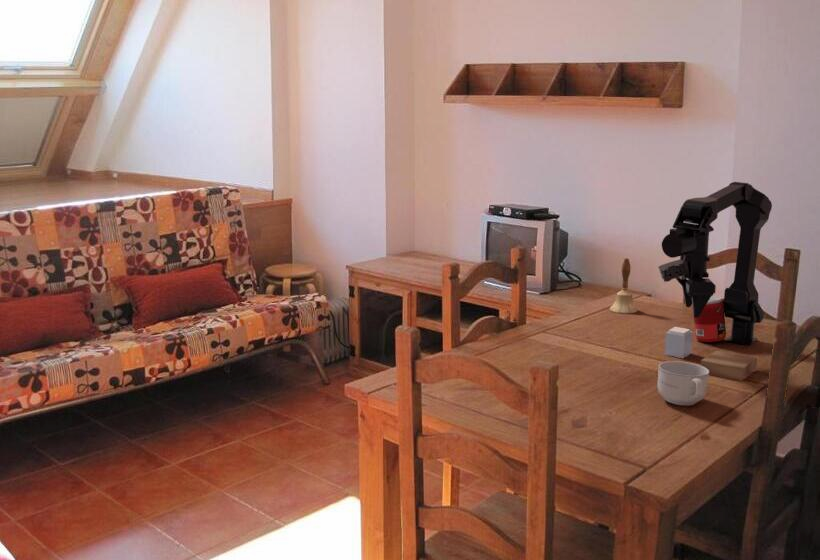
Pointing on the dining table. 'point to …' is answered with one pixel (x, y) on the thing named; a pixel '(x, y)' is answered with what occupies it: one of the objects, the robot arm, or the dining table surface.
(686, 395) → the teacup
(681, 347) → the white cube
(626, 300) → the hand bell
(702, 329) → the canned food
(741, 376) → the wooden block
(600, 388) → the dining table surface
